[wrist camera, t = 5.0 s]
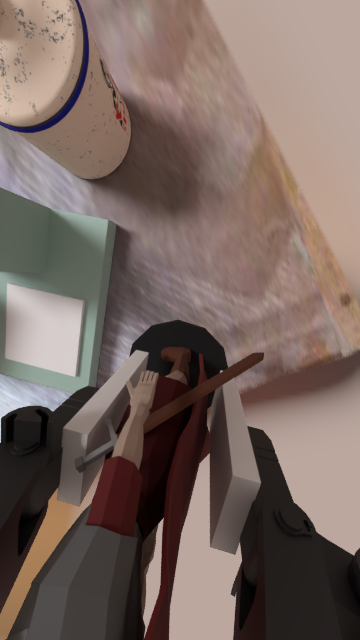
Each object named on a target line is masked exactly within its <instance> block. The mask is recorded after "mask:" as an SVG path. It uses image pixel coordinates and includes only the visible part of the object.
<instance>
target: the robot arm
mask: <svg viewBox="0 0 360 640" xmlns="http://www.w3.org/2000/svg"><path fill="white" fill-rule="evenodd" d="M148 355H149V353H148V352H143V351H139V350H136V351H135V352H134V353H133V354H132V355H131V356H130V357H129V358H128V359H127V360H126V361H125V362H124V363H123V365H122V366H121V367H120V368H119V369H118V370H117V371H116V372H115V373H114V374H113V375H112V376H111V377H110V378H109V379H108V381H107V382H106V383H105V384H104V385H103V386H102V387H101V388H100V389H99V388H95V387H92V386H86V387H84V388H81V389H79V390H77V391H76V392H75V393H74V394H72V395H71V396H70V397H69V399H67V400H66V401H65V402H64V403H62V405H60V406H59V407H58V408H57V409H56V410H55V411H54V412H52V411H51V410H50V409H48V408H46V407H42V406H27V407H22V408H19V409H16V410H14V411H11V412H9V413H8V414H6V415H5V416H4V417H2V418H1V443H0V613H1V611H2V609H3V607H4V605H5V602H6V600H7V598H8V596H9V594H10V592H11V589H12V587H13V585H14V583H15V581H16V578H17V576H18V574H19V572H20V570H21V567H22V566H23V563H24V561H25V559H26V557H27V555H28V552H29V550H30V548H31V545H32V544H33V542H34V539H35V537H36V535H37V533H38V531H39V529H40V526H41V524H42V522H43V519H44V518H45V515H46V512H47V508H48V500H49V499H50V498H51V496H52V495H53V493H54V492H55V490H56V489H57V488H58V496H57V500H59V501H63V502H66V503H69V504H73V505H76V506H80V504H81V503H82V501H83V499H84V497H85V496H86V494H87V492H88V490H89V488H90V486H91V485H92V483H93V481H94V479H95V477H96V475H97V474H98V472H99V470H100V468H101V467H102V465H103V463H104V460H105V455H104V456H102V457H101V458H99V459H98V460H96V461H94V462H93V463H91V464H89V465H88V466H86V470H85V471H83V472H81V473H79V472H78V471H77V470H76V468H75V459H76V458H78V457H80V456H82V457H85V456H86V455H88V454H90V453H91V452H93V451H95V450H96V449H98V448H100V447H101V446H103V445H105V444H106V443H108V442H110V441H111V437H110V431H109V427H108V424H107V422H106V420H107V419H109V418H111V420H112V422H113V427H114V431H115V432H116V430H117V428H118V426H119V424H120V422H121V419H122V417H123V415H124V413H125V411H126V409H127V406H128V404H129V402H130V400H131V397H130V394H129V390H128V388H127V385H126V381H128V380H130V382H131V384H132V387H133V388H136V386H137V384H138V382H139V380H140V375H141V372H146V366H147V361H148ZM221 372H222V370H221V371H220V373H221ZM239 543H240V546H241V554H242V563H241V565H240V568H239V571H238V573H237V576H236V578H235V581H234V584H233V587H232V591H231V595H233V596H235V594H236V607H235V622H234V636H233V640H360V548H359V549H358V550H357V552H356V553H355V555H354V556H353V555H352V554H350V553H348V552H347V551H345V550H343V549H342V548H340V547H338V546H337V545H335V544H334V543H332V542H330V541H328V540H327V539H326V538H324V537H322V536H321V535H320V534H318V533H317V532H316V530H315V527H314V525H313V523H312V522H311V520H310V519H309V517H308V516H307V514H306V513H305V512H304V511H303V510H302V509H301V508H300V507H299V506H298V505H297V504H295V503H294V502H293V499H292V496H291V494H290V491H289V488H288V486H287V483H286V480H285V477H284V475H283V472H282V469H281V467H280V464H279V463H278V458H277V456H276V454H275V450H274V447H273V445H272V442H271V440H270V439H269V437H268V436H267V435H266V434H265V432H264V431H263V430H260V429H257V428H253V427H249V426H247V424H246V420H245V416H244V411H243V408H242V403H241V399H240V395H239V391H238V387H237V383H236V379H235V378H233V379H231V380H230V381H228V382H227V383H225V384H223V385H222V386H220V387H219V388H217V389H216V390H215V394H214V397H213V401H212V405H211V409H210V547H212V548H215V549H218V550H222V551H225V552H229V553H231V554H236V551H237V548H238V545H239ZM236 592H237V593H236Z"/></svg>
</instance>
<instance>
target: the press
mask: <svg viewBox="0 0 360 640" xmlns="http://www.w3.org/2000/svg"><path fill="white" fill-rule="evenodd" d="M116 226H117V224H115V223H113V222H112V221H110V220H107V219H102V218H97V217H92V216H86V215H81V214H76V213H71V212H65V211H60V210H55V209H50V208H47V207H45V206H43V205H40V204H38V203H36V202H33V201H31V200H29V199H26V198H24V197H22V196H19V195H17V194H14V193H12V192H10V191H7V190H5V189H3V188H0V374H3V375H7V376H10V377H14V378H18V379H21V380H25V381H28V382H32V383H36V384H39V385H43V386H47V387H50V388H54V389H58V390H61V391H65V392H69V393H72V394H74V393H75V392H76V391H77V390H79V389H81V388H84V387H86V386H92V387H95V388H96V382H97V374H98V366H99V359H100V351H101V343H102V335H103V327H104V320H105V312H106V304H107V296H108V289H109V281H110V273H111V265H112V258H113V250H114V242H115V234H116Z"/></svg>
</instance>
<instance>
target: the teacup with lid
mask: <svg viewBox="0 0 360 640" xmlns="http://www.w3.org/2000/svg"><path fill="white" fill-rule="evenodd" d="M0 125H2V126H3V127H5V128H7V129H10V130H13V131H15V132H16V133H18V134H19V135H20V136H22V137H23V138H24V139H26V140H27V141H29V142H30V143H31V144H33V145H34V146H35V147H37V148H38V149H39V150H41V151H42V152H43V153H45V154H46V155H47V156H49V157H50V158H51V159H53V160H54V161H56V162H57V163H58V164H60V165H61V166H62V167H64V168H65V169H66V170H68V171H69V172H70V173H72V174H74V175H76V176H78V177H81V178H85V179H98V178H101V177H104V176H106V175H108V174H110V173H111V172H113V171H114V170H115V169H116V168H117V167H118V166H119V165H120V163H121V162H122V161H123V159H124V157H125V155H126V153H127V150H128V147H129V143H130V137H131V123H130V117H129V113H128V110H127V107H126V105H125V103H124V101H123V99H122V97H121V95H120V93H119V91H118V89H117V87H116V85H115V83H114V81H113V79H112V77H111V75H110V72H109V70H108V68H107V66H106V64H105V62H104V60H103V58H102V56H101V54H100V52H99V50H98V48H97V46H96V44H95V42H94V40H93V38H92V36H91V34H90V32H89V30H88V28H87V25H86V21H85V17H84V14H83V11H82V8H81V6H80V3H79V1H78V0H0Z"/></svg>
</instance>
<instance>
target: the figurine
mask: <svg viewBox="0 0 360 640" xmlns="http://www.w3.org/2000/svg"><path fill="white" fill-rule="evenodd" d="M136 350H139V351H143V352H148V353H149V355H148V361H147V366H146V372H141V375H140V380H139V382H138V384H137V386H136V388H133V387H132V384H131V382H130V380H128V381H126V385H127V388H128V390H129V394H130V397H131V400H130V402H129V404H128V406H127V409H126V411H125V413H124V415H123V417H122V419H121V422H120V424H119V426H118V428H117V430H116V432H115V431H114V427H113V422H112V420H111V418H109V419H107V420H106V422H107V424H108V427H109V431H110V437H111V441H110V442H108V443H106V444H105V445H103V446H101V447H100V448H98V449H96V450H95V451H93V452H91V453H90V454H88V455H86V456H85V457H82V456H80V457H78V458H76V459H75V468H76V470H77V471H78V472H79V473H81V472H83V471H85V470H86V466H88V465H89V464H91V463H93V462H94V461H96V460H98V459H99V458H101V457H102V456H104V455H105V460H104V465H103V469H102V472H101V475H100V479H99V482H98V486H97V489H96V492H95V495H94V497H93V500H92V503H91V504H90V505H89V506H88V507H87V508H86V509H85V510H84V511H83V512H82V514H81V515H80V516H79V517H78V519H77V520H76V521H75V523H74V524H73V525H72V526H71V528H70V529H69V530H68V532H67V533H66V534H65V536H64V537H63V538H62V540H61V541H60V542H59V544H58V545H57V547H56V548H55V550H54V551H53V552H52V554H51V555H50V557H49V558H48V560H47V561H46V563H45V564H44V565H43V567H42V569H41V570H40V572H39V573H38V574H37V575H36V577H35V578H34V580H33V581H32V584H31V588H30V590H29V592H28V594H27V596H26V598H25V600H24V603H23V605H22V607H21V609H20V611H19V613H18V616H17V618H16V620H15V622H14V624H13V627H12V629H11V631H10V633H9V635H8V637H7V639H6V640H169V615H170V602H171V596H172V590H173V583H174V577H175V570H176V563H177V557H178V551H179V544H180V538H181V532H182V529H183V526H184V522H185V519H186V516H187V512H188V508H189V504H190V500H191V496H192V491H193V488H194V484H195V480H196V475H197V471H198V467H199V463H200V462H201V461H202V460H203V459H204V458H205V457H206V456H207V455H208V454H209V453H210V433H209V430H208V427H207V409H208V408H209V407H210V406H211V405H212V401H213V397H214V394H215V390H216V389H217V388H219V387H220V386H222V385H223V384H225V383H227V382H228V381H230V380H231V379H233V378H235V377H236V376H238V375H239V374H241V373H243V372H244V371H246V370H247V369H249V368H251V367H252V366H254V365H255V364H257V363H259V362H260V361H262V360H263V357H264V353H252V354H251V355H249V356H247V357H246V358H244V359H242V360H241V361H239V362H237V363H236V364H234V365H232V366H231V367H229V368H228V366H227V361H226V356H225V352H224V348H223V347H222V346H221V345H220V344H219V343H218V341H217V340H216V339H215V338H214V337H213V336H212V335H211V334H210V333H209V332H208V331H207V330H206V329H205V328H203V327H200V326H197V325H193V324H190V323H187V322H184V321H181V320H175V321H170V322H165V323H161V324H156V325H152V326H151V327H150V328H149V329H148V330H147V331H146V332H145V333H144V334H142V335H141V336H140V337H139V338H138V339H137V340H136V341H135V342H134V343H133V344H132V348H131V352H130V356H131V355H132V354H133V353H134V352H135V351H136ZM130 356H129V357H130ZM221 370H222V372H221V373H220V371H221ZM163 518H164V521H163V533H162V559H161V560H162V561H161V585H160V591H159V595H158V599H157V601H156V604H155V607H154V610H153V613H152V617H151V619H150V623H149V626H148V629H147V632H146V635H145V638H144V633H145V624H144V621H143V614H144V609H145V599H146V574H147V571H148V567H149V564H150V562H151V561H152V559H153V556H154V550H155V544H156V532H157V528H158V524H159V522H160V521H161V520H162V519H163ZM153 530H154V531H153Z"/></svg>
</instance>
